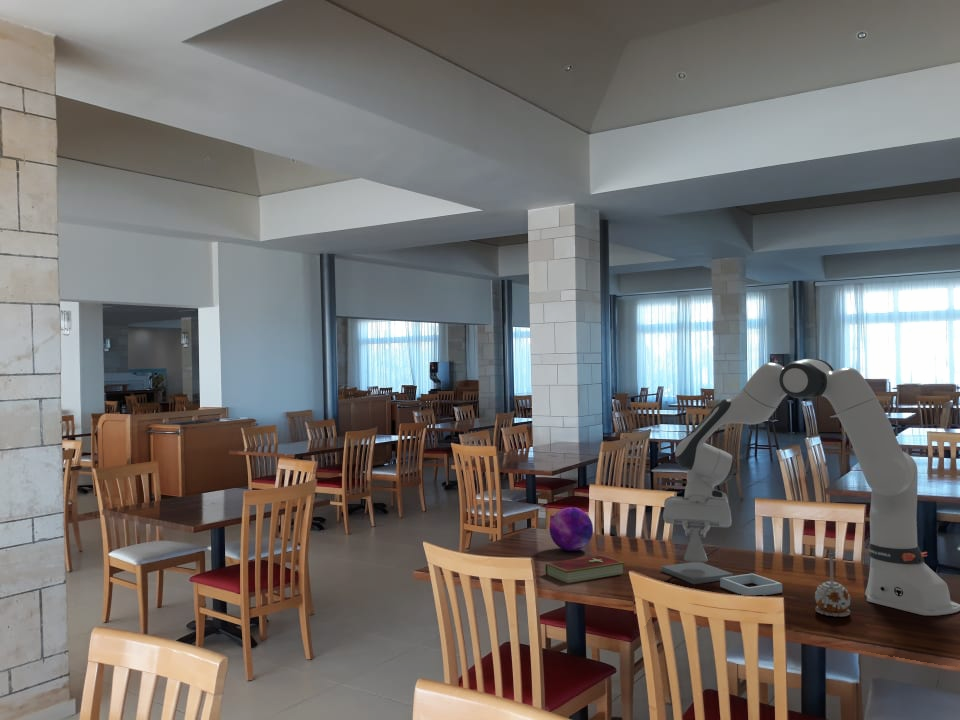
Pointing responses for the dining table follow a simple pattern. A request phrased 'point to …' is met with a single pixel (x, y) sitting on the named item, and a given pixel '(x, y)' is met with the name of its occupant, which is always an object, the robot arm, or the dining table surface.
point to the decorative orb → (571, 529)
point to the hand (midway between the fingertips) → (695, 535)
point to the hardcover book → (584, 568)
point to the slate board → (696, 572)
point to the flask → (695, 547)
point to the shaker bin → (765, 587)
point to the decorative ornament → (832, 597)
